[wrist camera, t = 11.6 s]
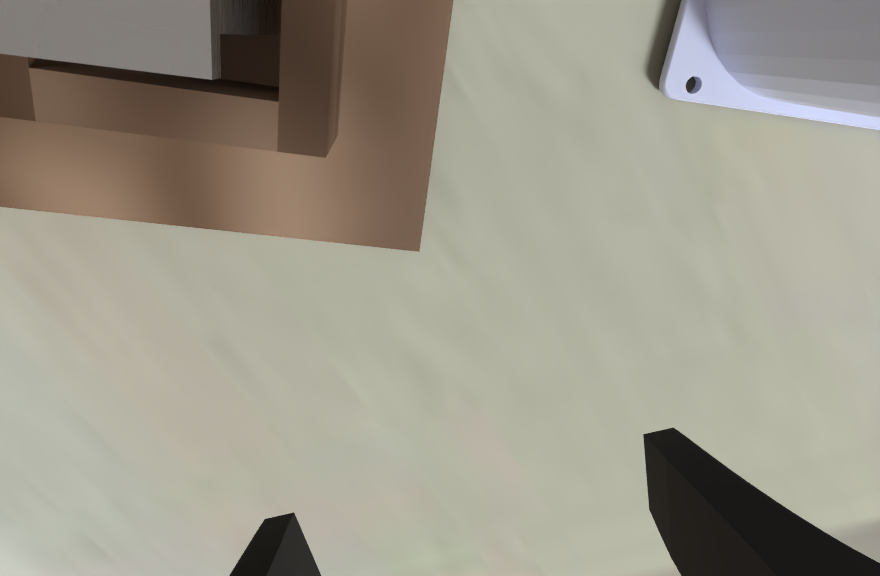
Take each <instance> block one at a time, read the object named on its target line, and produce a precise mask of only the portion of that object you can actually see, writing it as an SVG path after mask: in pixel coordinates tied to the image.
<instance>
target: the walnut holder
mask: <svg viewBox="0 0 880 576" xmlns="http://www.w3.org/2000/svg"><path fill="white" fill-rule="evenodd" d="M452 6H453V0H277V36H269V35H239V34H220V63H221V78H218V79H213V80H210V79H202V78H194V77H185V76H177V75H169V74H161V73H153V72H145V71H137V70H129V69H121V68H113V67H104V66H96V65H88V64H80V63H72V62H64V61H56V60H48V59H40V58H32V57H23V56H15V55H7V54H0V207H8V208H18V209H27V210H36V211H46V212H55V213H64V214H74V215H83V216H92V217H102V218H111V219H120V220H130V221H139V222H148V223H158V224H167V225H176V226H186V227H195V228H204V229H214V230H223V231H232V232H242V233H251V234H260V235H270V236H279V237H288V238H298V239H307V240H316V241H326V242H335V243H344V244H354V245H363V246H372V247H382V248H391V249H400V250H410V251H419V249H420V242H421V235H422V227H423V220H424V213H425V205H426V198H427V190H428V183H429V176H430V168H431V161H432V153H433V146H434V139H435V131H436V124H437V117H438V109H439V102H440V94H441V87H442V80H443V72H444V65H445V57H446V50H447V43H448V35H449V28H450V21H451V13H452Z"/></svg>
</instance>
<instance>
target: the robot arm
mask: <svg viewBox="0 0 880 576" xmlns="http://www.w3.org/2000/svg"><path fill="white" fill-rule="evenodd" d="M691 77H694V78H695V80H696V85H695V87H694V89H693V90H692V91H690V92H687V90H686V83H687V81H688V79H690V78H691ZM659 88H660V91H661V93H662V94H663V95H664V96H665V97H668V98H671V99H677V100H684V101H690V102H697V103H703V104H710V105H717V106H723V107H730V108H737V109H743V110H750V111H756V112H763V113H770V114H776V115H783V116H790V117H796V118H803V119H810V120H816V121H823V122H829V123H836V124H843V125H849V126H856V127H863V128H869V129H876V130H880V0H681V4H680V8H679V11H678V15H677V19H676V22H675V26H674V29H673V33H672V37H671V40H670V44H669V48H668V51H667V55H666V58H665V62H664V66H663V69H662V73H661V77H660V81H659ZM643 435H644V448H645V460H646V473H647V485H648V498H649V510H650V512H651V514H652V516H653V519H654V521H655V523H656V525H657V528H658V530H659V532H660V535H661V537H662V539H663V541H664V543H665V545H666V547H667V550H668V552H669V554H670V556H671V558H672V560H673V562H674V563H675V565H676V567H677V569H678V570H679V572H680V574H681V576H880V563H878V562H876V561H875V560H873V559H871V558H869V557H867V556H865V555H863V554H861V553H860V552H858V551H856V550H854V549H852V548H851V547H849V546H847V545H845V544H844V543H842V542H840V541H839V540H837V539H835V538H833V537H832V536H830V535H828V534H827V533H825V532H823V531H822V530H820V529H819V528H817V527H815V526H814V525H812V524H811V523H809V522H807V521H806V520H804V519H803V518H801V517H799V516H798V515H796V514H795V513H793V512H792V511H790V510H788V509H787V508H785V507H784V506H782V505H781V504H779V503H778V502H776V501H775V500H773V499H772V498H770V497H769V496H768V495H766V494H765V493H763V492H762V491H760V490H759V489H757V488H756V487H754V486H753V485H751V484H750V483H748V482H747V481H746V480H744V479H743V478H741V477H740V476H739V475H737V474H736V473H734V472H733V471H732V470H730V469H729V468H727V467H726V466H725V465H723V464H722V463H721V462H719V461H718V460H717V459H715V458H714V457H712V456H711V455H710V454H708V453H707V452H706V451H704V450H703V449H702V448H700V447H699V446H698V445H696V444H695V443H694V442H692V441H691V440H690V439H688V438H687V437H686V436H685V435H683V434H682V433H680V432H679V431H678V430H676V429H675V428H670V429H665V430H661V431H656V432H652V433H648V434H643ZM230 576H321V574H320V572H319V570H318V567H317V565H316V563H315V560H314V558H313V556H312V553H311V551H310V549H309V546H308V544H307V542H306V539H305V537H304V535H303V532H302V530H301V528H300V525H299V523H298V521H297V518H296V516H295V514H294V513H290V514H286V515H281V516H277V517H272V518H268V519H265V520H264V521H263V523H262V524H261V526H260V527H259V529H258V531H257V532H256V534H255V535H254V537H253V538H252V540H251V542H250V543H249V545H248V546H247V548H246V550H245V551H244V553H243V555H242V556H241V558H240V559H239V561H238V563H237V564H236V566H235V568H234V569H233V571H232V572H231V574H230Z"/></svg>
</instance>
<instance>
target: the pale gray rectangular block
mask: <svg viewBox="0 0 880 576" xmlns="http://www.w3.org/2000/svg"><path fill="white" fill-rule="evenodd" d="M220 34H239V35H269V36H277V0H0V54H7V55H15V56H23V57H32V58H40V59H48V60H56V61H64V62H72V63H80V64H88V65H96V66H104V67H113V68H121V69H129V70H137V71H145V72H153V73H161V74H169V75H177V76H185V77H194V78H202V79H210V80H213V79H218V78H221V63H220Z"/></svg>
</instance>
